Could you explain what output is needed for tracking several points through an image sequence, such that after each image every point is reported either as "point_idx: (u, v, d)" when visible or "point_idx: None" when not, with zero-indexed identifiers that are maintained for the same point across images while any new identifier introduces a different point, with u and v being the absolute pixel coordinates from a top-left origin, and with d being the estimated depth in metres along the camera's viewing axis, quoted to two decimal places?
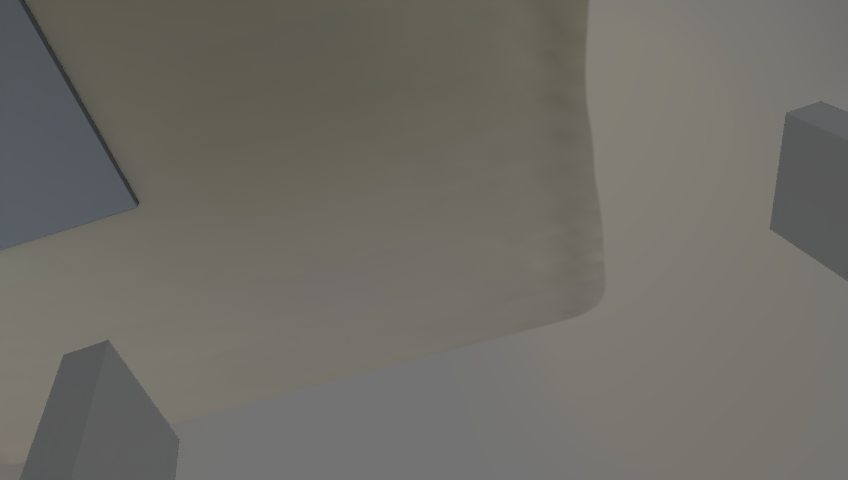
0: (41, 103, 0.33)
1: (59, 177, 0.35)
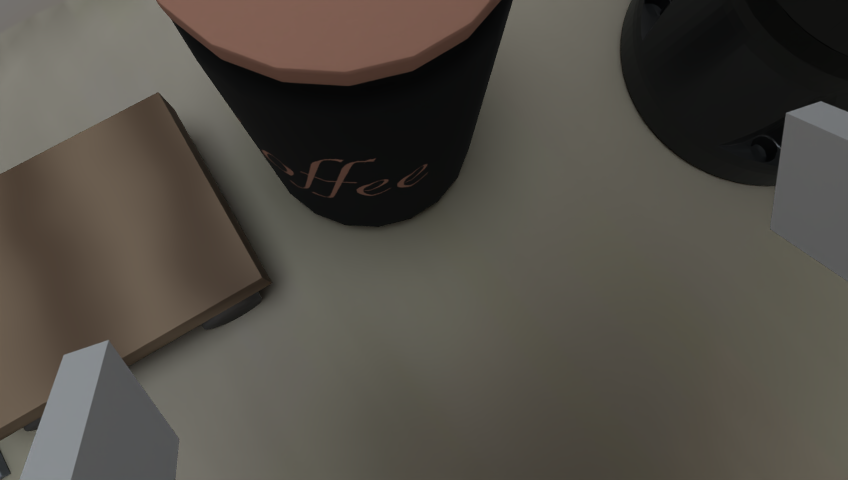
0: None
1: None
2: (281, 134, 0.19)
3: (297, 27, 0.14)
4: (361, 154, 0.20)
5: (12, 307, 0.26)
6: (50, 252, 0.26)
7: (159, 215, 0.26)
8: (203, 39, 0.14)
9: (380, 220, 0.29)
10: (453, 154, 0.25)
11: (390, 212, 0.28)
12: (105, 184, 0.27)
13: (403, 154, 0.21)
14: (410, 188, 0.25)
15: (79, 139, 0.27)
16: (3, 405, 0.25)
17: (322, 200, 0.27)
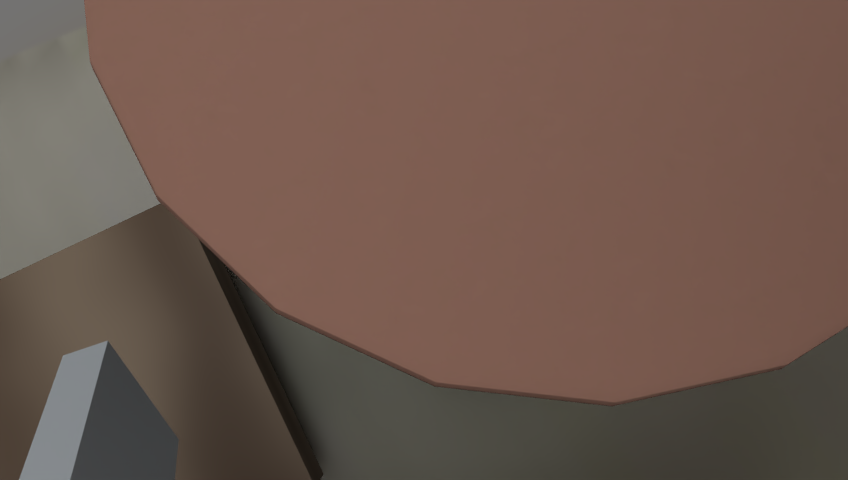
0: None
1: None
2: None
3: (492, 275, 0.06)
4: None
5: None
6: (5, 431, 0.18)
7: (169, 382, 0.18)
8: (256, 293, 0.06)
9: None
10: None
11: None
12: (93, 330, 0.18)
13: None
14: None
15: (59, 260, 0.19)
16: None
17: None
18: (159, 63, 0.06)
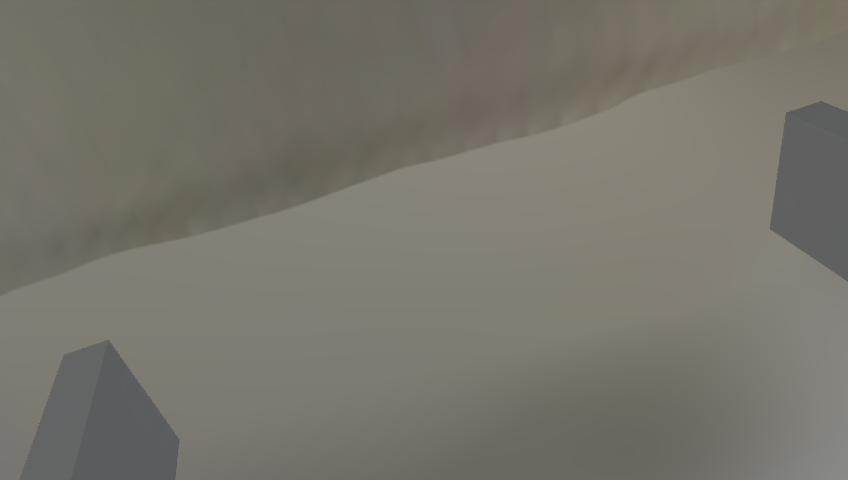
0: None
1: None
2: None
3: None
4: None
5: None
6: None
7: None
8: None
9: None
10: None
11: None
12: None
13: None
14: None
15: None
16: None
17: None
18: None
